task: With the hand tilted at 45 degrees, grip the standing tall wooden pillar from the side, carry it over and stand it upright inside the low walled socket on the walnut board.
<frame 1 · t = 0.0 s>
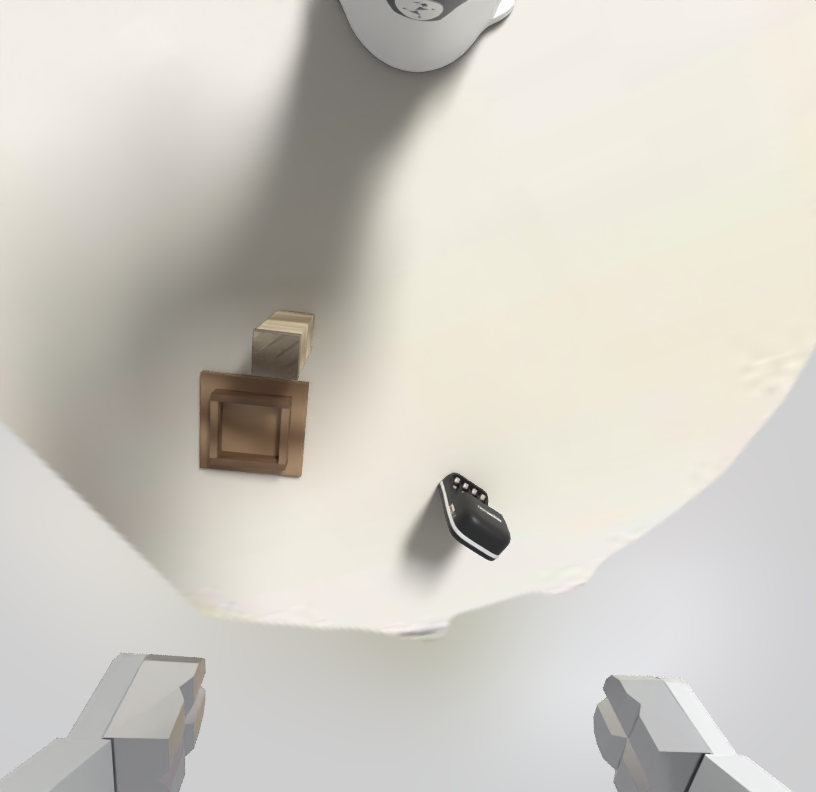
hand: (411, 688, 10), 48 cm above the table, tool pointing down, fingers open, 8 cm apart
tall wooden pillar: (294, 329, 55), on the table
battery charger: (465, 487, 63), on the table
dock: (254, 424, 58), on the table
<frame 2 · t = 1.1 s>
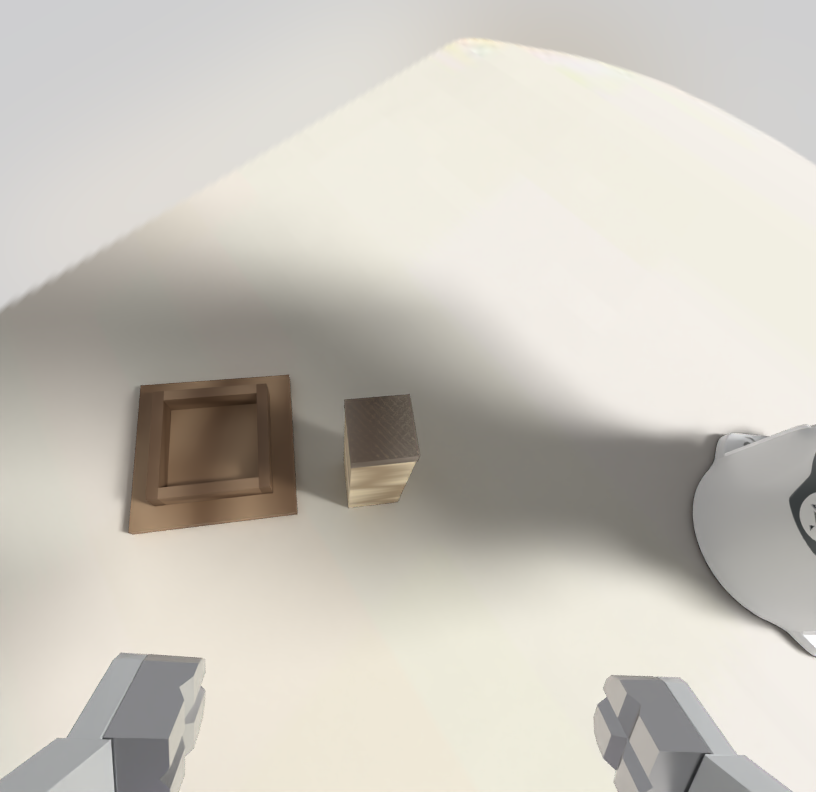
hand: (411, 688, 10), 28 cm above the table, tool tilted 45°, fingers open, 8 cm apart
tall wooden pillar: (370, 481, 40), on the table
dock: (218, 449, 40), on the table
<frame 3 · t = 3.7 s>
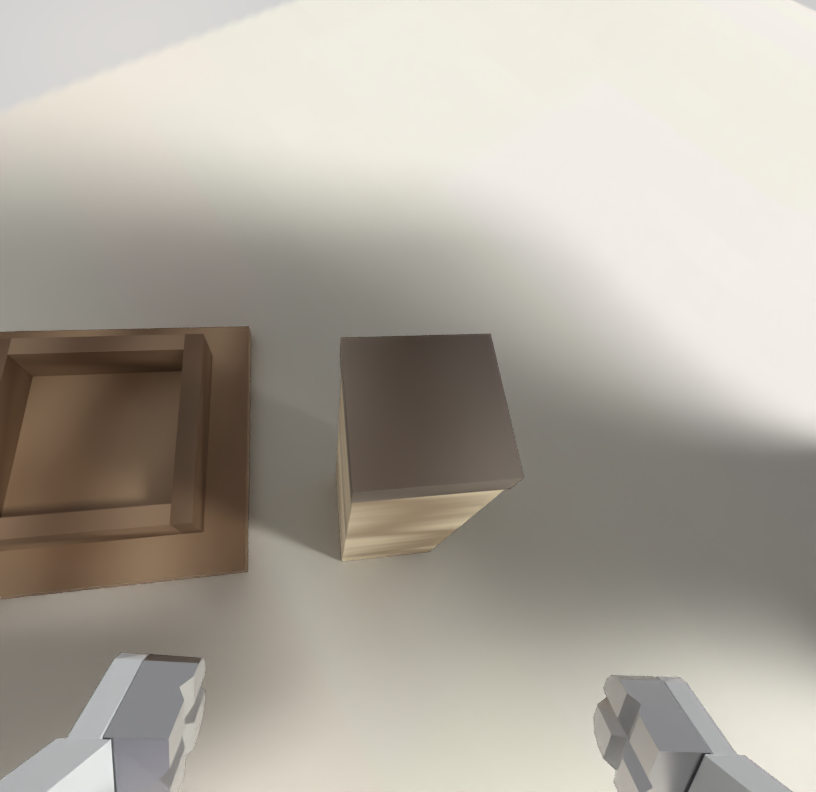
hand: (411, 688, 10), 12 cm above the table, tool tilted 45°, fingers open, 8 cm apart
tall wooden pillar: (381, 512, 23), on the table
dock: (112, 449, 22), on the table
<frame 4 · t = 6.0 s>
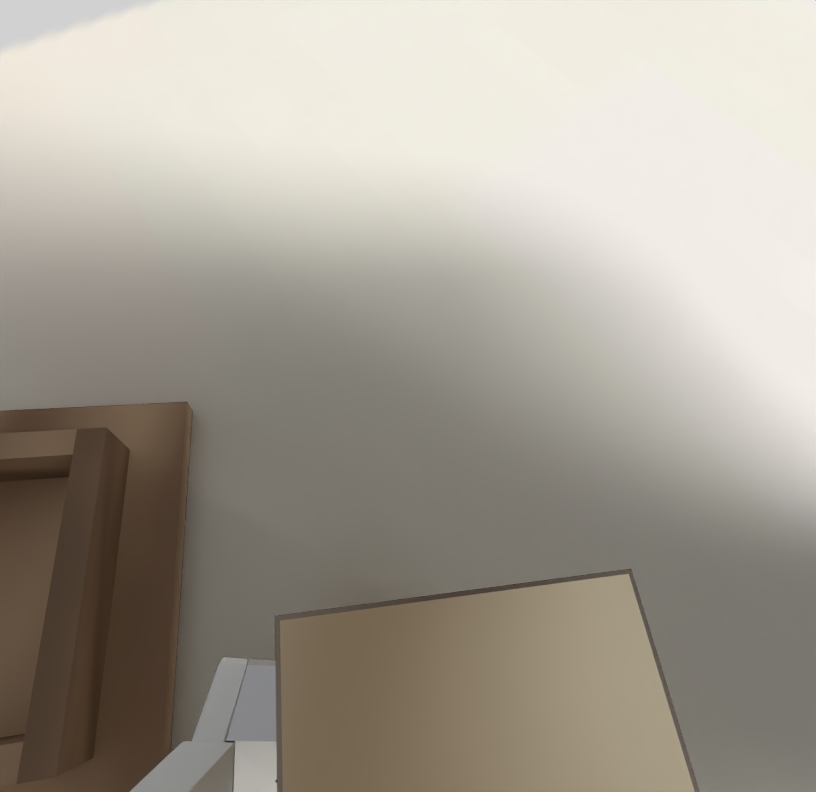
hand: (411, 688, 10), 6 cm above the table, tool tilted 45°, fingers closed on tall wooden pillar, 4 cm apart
tall wooden pillar: (378, 692, 15), on the table, touching gripper
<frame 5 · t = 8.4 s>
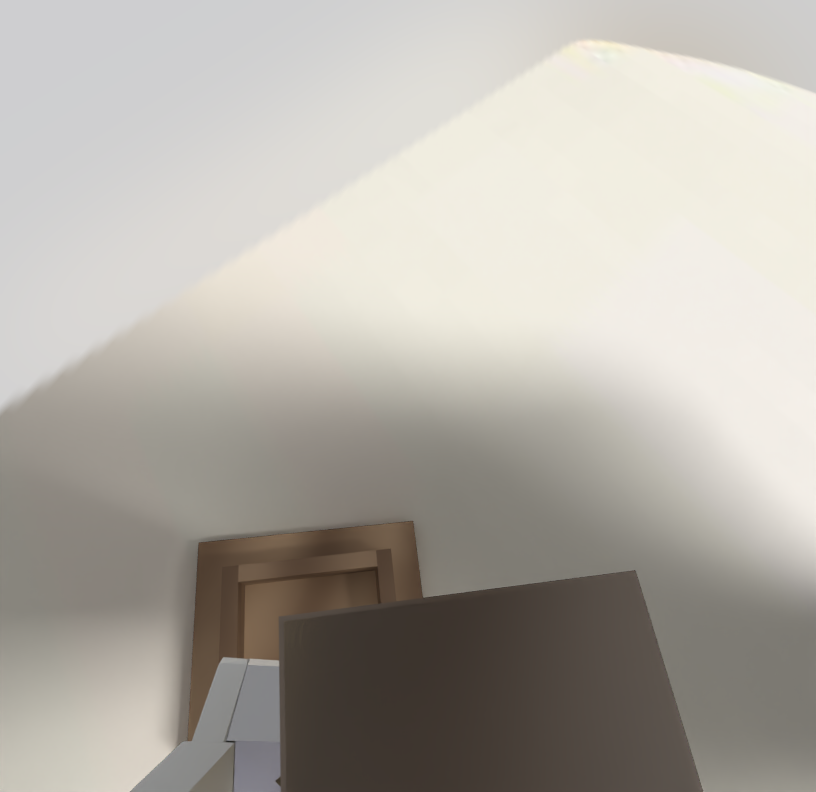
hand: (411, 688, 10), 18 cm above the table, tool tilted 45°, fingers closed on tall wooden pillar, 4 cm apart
tall wooden pillar: (379, 693, 15), point 12 cm above the table, touching gripper
dock: (314, 648, 26), on the table
when the fingers open (8 cm above the table, at t = 11.2 s): tall wooden pillar drops 1 cm, resting on dock.
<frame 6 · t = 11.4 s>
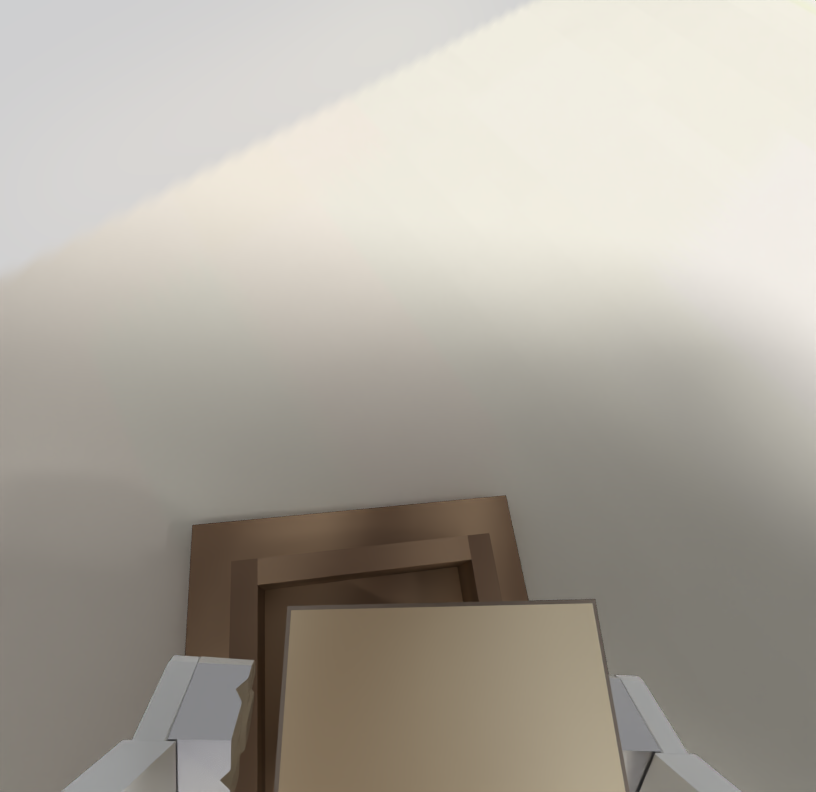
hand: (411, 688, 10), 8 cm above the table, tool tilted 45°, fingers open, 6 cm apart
tall wooden pillar: (376, 689, 16), point 1 cm above the table, touching dock
dock: (372, 686, 17), on the table
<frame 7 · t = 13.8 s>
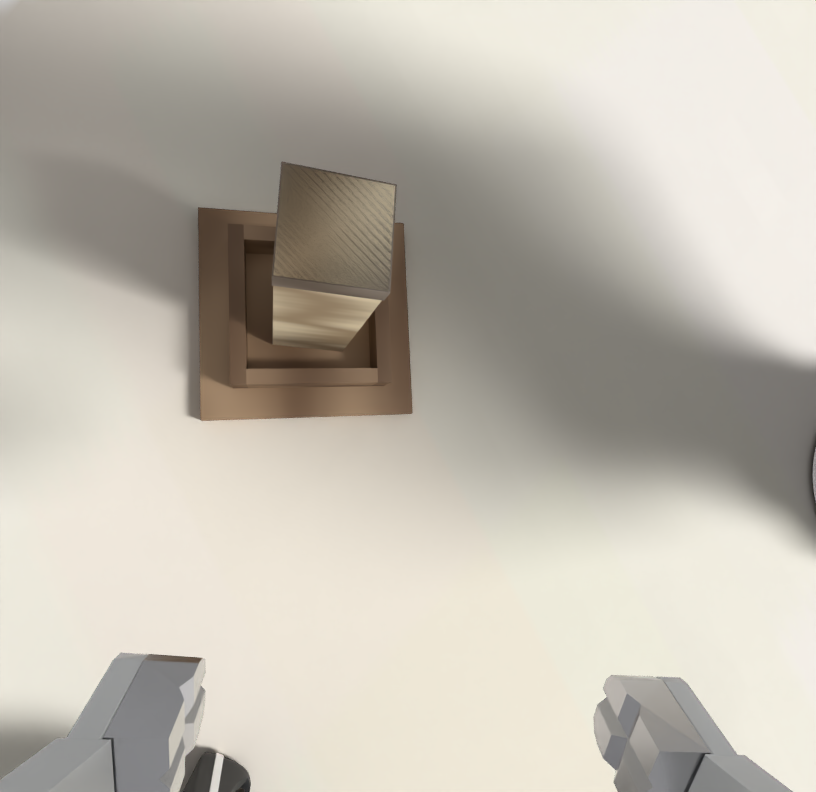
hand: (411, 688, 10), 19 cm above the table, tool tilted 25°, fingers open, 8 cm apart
tall wooden pillar: (310, 314, 29), point 1 cm above the table, touching dock
dock: (308, 317, 29), on the table
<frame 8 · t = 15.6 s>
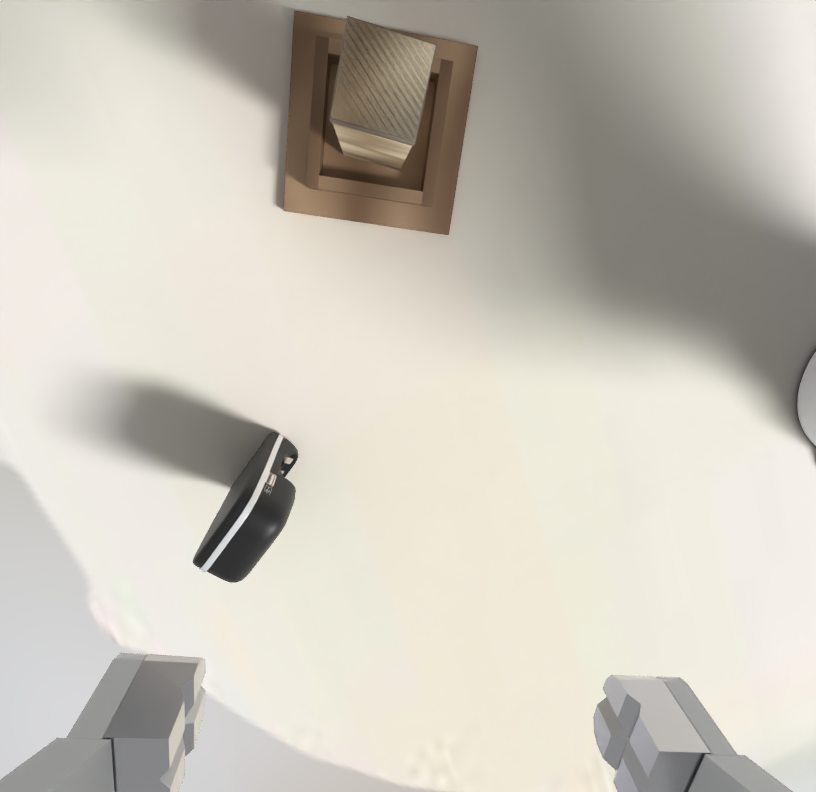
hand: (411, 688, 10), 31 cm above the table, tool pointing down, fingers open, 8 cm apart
tall wooden pillar: (378, 131, 34), point 1 cm above the table, touching dock
battery charger: (271, 468, 42), on the table
dock: (377, 133, 34), on the table
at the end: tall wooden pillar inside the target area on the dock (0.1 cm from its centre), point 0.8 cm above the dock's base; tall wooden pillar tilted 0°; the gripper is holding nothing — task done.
